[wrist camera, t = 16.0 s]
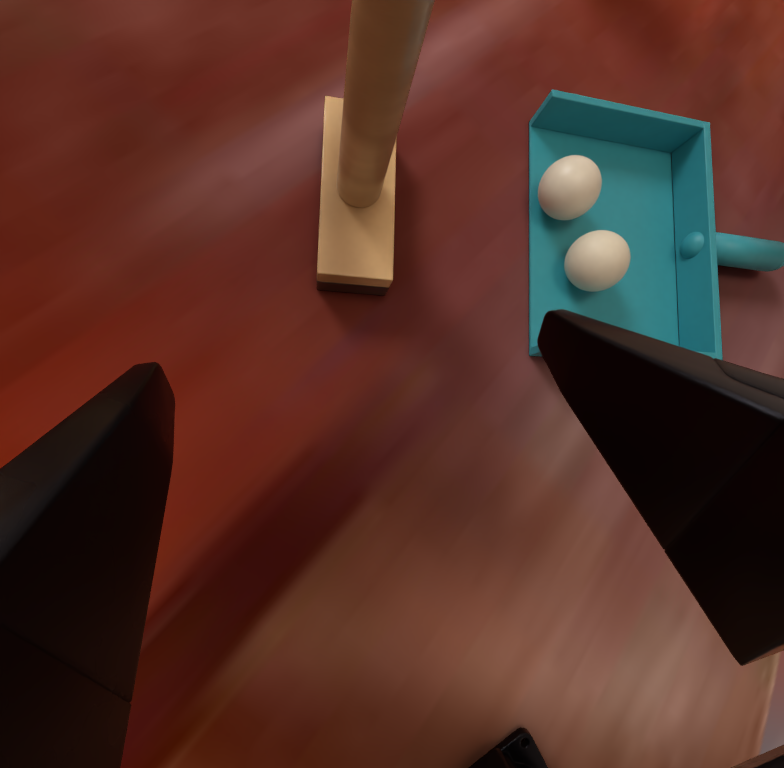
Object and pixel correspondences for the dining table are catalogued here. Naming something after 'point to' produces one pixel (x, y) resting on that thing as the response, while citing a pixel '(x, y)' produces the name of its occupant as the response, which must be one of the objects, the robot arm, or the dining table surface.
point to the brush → (367, 146)
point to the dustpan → (637, 222)
